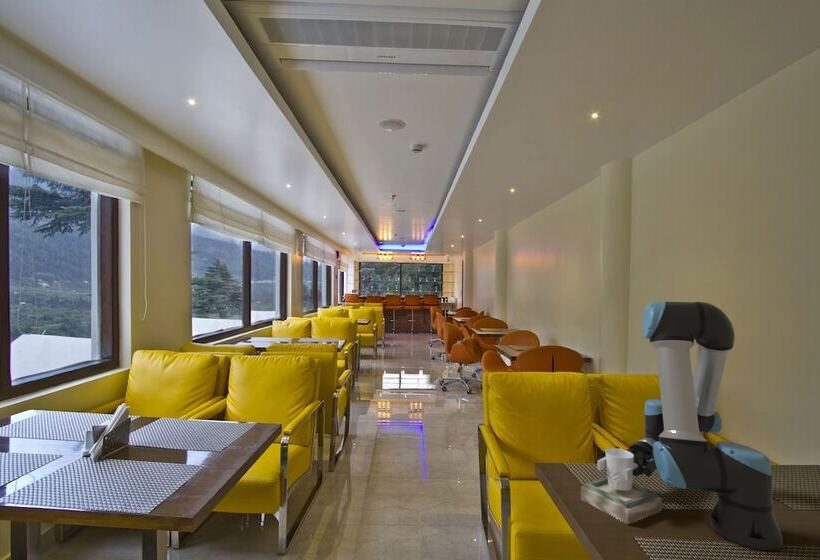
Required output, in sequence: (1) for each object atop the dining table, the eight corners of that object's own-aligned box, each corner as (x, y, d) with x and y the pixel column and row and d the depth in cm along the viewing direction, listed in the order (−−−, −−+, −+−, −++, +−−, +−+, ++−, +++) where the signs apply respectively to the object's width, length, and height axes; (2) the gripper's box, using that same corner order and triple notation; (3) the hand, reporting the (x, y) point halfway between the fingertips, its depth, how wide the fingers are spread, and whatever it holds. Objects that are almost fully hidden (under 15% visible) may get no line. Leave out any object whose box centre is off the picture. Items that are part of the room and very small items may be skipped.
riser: (662, 511, 120) (661, 493, 120) (628, 525, 113) (627, 506, 113) (613, 488, 134) (613, 472, 135) (580, 499, 127) (580, 482, 127)
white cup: (627, 480, 127) (627, 448, 128) (639, 492, 120) (638, 458, 120) (602, 479, 128) (601, 447, 129) (611, 491, 120) (611, 457, 121)
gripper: (680, 474, 127) (648, 496, 113) (614, 453, 143) (580, 470, 129) (679, 450, 127) (647, 469, 113) (614, 432, 143) (580, 447, 130)
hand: (612, 470), depth 121 cm, fingers closed on white cup, 8 cm apart
